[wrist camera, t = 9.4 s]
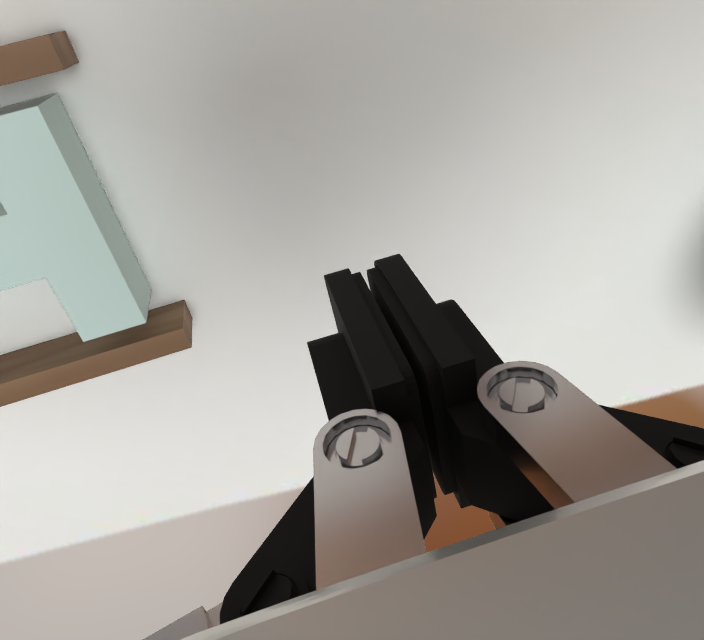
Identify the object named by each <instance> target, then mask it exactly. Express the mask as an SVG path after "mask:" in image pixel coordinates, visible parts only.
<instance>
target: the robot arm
mask: <svg viewBox="0 0 704 640" xmlns="http://www.w3.org/2000/svg"><path fill="white" fill-rule="evenodd" d="M374 266H375V268H372V269H368V270H367V276H368V281H369V286H370V290H371V291H370V290H369V288H368V286H367V284H366V282H365V280H364V278H363V277H362V275H361V273H360V272H358V273H354V274H351V272H350V270H349V268H348V269H344V270H341V271H337V272H334V273H330V274H327V275H324V278H325V283H326V287H327V291H328V294H329V298H330V302H331V306H332V310H333V314H334V317H335V321H336V325H337V329H338V333H337V334H333V335H330V336H327V337H323V338H320V339H317V340H313V341H310V342H307V344H308V348H309V351H310V355H311V358H312V362H313V366H314V369H315V373H316V376H317V380H318V384H319V387H320V391H321V394H322V398H323V401H324V405H325V409H326V412H327V416H328V419H329V422H328V423H326V424H325V425H324V426H323V427H322V428H321V429H320V431H319V433H318V435H317V436H316V438H315V442H314V448H313V463H314V476H313V478H312V479H311V480H310V482H309V483H308V484H307V486H306V487H305V488H304V490H303V491H302V492H301V494H300V495H299V496H298V498H297V499H296V500H295V502H294V503H293V504H292V505H291V507H290V508H289V509H288V511H287V512H286V513H285V515H284V516H283V517H282V519H281V520H280V521H279V523H278V524H277V525H276V527H275V528H274V529H273V531H272V532H271V533H270V534H269V536H268V537H267V538H266V540H265V541H264V542H263V544H262V545H261V546H260V548H259V549H258V550H257V551H256V553H255V554H254V555H253V557H252V558H251V559H250V561H249V562H248V563H247V565H246V566H245V568H244V569H243V570H242V571H241V573H240V574H239V575H238V576H237V578H236V579H235V580H234V582H233V583H232V585H231V587H230V588H229V590H228V592H227V593H226V595H225V597H224V600H223V602H222V603H220V604H219V605H217V606H215V607H214V608H212V609H210V610H208V611H207V612H206V610H205V609H204V607H203V606H201V607H199V608H197V609H196V610H194V611H192V612H190V613H189V614H187V615H185V616H183V617H182V618H180V619H178V620H177V621H175V622H173V623H171V624H169V625H168V626H166V627H164V628H163V629H161V630H159V631H157V632H155V633H154V634H152V635H150V636H148V637H147V638H145V639H143V640H704V429H703V428H699V427H695V426H690V425H686V424H681V423H677V422H672V421H668V420H663V419H659V418H655V417H650V416H646V415H641V414H637V413H633V412H628V411H624V410H619V409H615V408H610V407H606V406H602V405H598V404H596V403H595V402H594V401H593V400H592V399H590V398H589V397H588V396H587V395H585V394H584V393H583V392H582V391H580V390H579V389H578V388H577V387H575V386H574V385H573V384H572V383H570V382H569V381H568V380H567V379H566V378H564V377H563V376H562V375H561V374H559V373H558V372H556V371H555V370H553V369H551V368H550V367H548V366H545V365H542V364H539V363H536V362H528V361H515V362H507V363H504V362H503V361H502V360H501V359H500V357H499V356H498V355H497V354H496V352H495V351H494V350H493V349H492V347H491V346H490V345H489V343H488V342H487V341H486V340H485V338H484V337H483V336H482V335H481V333H480V332H479V331H478V329H477V328H476V327H475V326H474V324H473V323H472V322H471V321H470V319H469V318H468V317H467V316H466V314H465V313H464V312H463V310H462V309H461V308H460V307H459V305H458V304H457V303H456V302H455V301H454V300H448V301H444V302H441V303H438V304H436V303H435V302H434V301H433V299H432V298H431V296H430V295H429V294H428V292H427V291H426V290H425V288H424V287H423V285H422V284H421V283H420V281H419V280H418V278H417V277H416V276H415V274H414V273H413V271H412V270H411V269H410V267H409V266H408V265H407V263H406V262H405V260H404V259H403V258H402V256H401V255H400V254H397V255H393V256H390V257H386V258H383V259H379V260H376V261H375V262H374ZM432 470H433V471H432ZM433 473H434V475H435V476H436V479H437V481H438V483H439V485H440V488H441V490H442V492H443V493H444V494H445V495H446V494H449V493H452V492H453V493H454V494H455V497H456V499H457V501H458V503H459V505H460V507H461V508H464V507H467V506H470V505H473V506H476V507H479V508H482V509H484V510H487V511H489V518H490V520H491V522H492V524H493V526H494V527H495V528H496V529H495V530H492V531H490V532H486V533H484V534H481V535H478V536H475V537H472V538H469V539H466V540H463V541H460V542H457V543H454V544H451V545H448V546H445V547H442V548H439V549H436V550H433V551H430V552H427V553H426V549H425V544H424V539H425V537H426V535H427V533H428V531H429V529H430V527H431V525H432V523H433V522H434V520H435V518H436V516H437V515H436V509H435V504H434V498H436V497H437V495H436V489H435V483H434V477H433Z"/></svg>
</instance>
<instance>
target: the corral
mask: <svg viewBox="0 0 704 640" xmlns="http://www.w3.org/2000/svg"><path fill="white" fill-rule="evenodd" d="M78 62H79V61H78V59H77V57H76V55H75V52H74V50H73V48H72V45H71V43H70V41H69V39H68V36H67V34H66V32H65V31H61V32H57V33H52V34H48V35H44V36H40V37H36V38H32V39H28V40H24V41H20V42H16V43H12V44H8V45H4V46H0V86H2V85H6V84H10V83H14V82H18V81H21V80H25V79H29V78H33V77H37V76H41V75H45V74H49V73H53V72H57V71H60V70H64V69H66V68H68V67H70V66H72V65H74V64H76V63H78ZM191 347H192V317H191V314H190V312H189V310H188V308H187V305H186V303H185V301H184V300H183V301H180V302H177V303H173V304H170V305H167V306H163V307H160V308H157V309H153V310H150V311H148V315H147V321H146V323H144V324H141V325H137V326H134V327H131V328H128V329H124V330H121V331H118V332H114V333H111V334H108V335H105V336H101V337H98V338H95V339H92V340H88V341H85V342H83V341H82V339H81V337H80V335H79V334H78V332H77V333H74V334H71V335H67V336H64V337H61V338H57V339H54V340H51V341H47V342H44V343H41V344H37V345H34V346H31V347H27V348H24V349H21V350H18V351H14V352H11V353H8V354H4V355H1V356H0V407H1V406H4V405H8V404H11V403H14V402H17V401H21V400H24V399H27V398H30V397H33V396H37V395H40V394H43V393H46V392H50V391H53V390H56V389H59V388H62V387H66V386H69V385H72V384H75V383H79V382H82V381H85V380H88V379H91V378H95V377H98V376H101V375H104V374H108V373H111V372H114V371H117V370H120V369H124V368H127V367H130V366H133V365H137V364H140V363H143V362H146V361H149V360H153V359H156V358H159V357H162V356H166V355H169V354H172V353H175V352H178V351H182V350H185V349H188V348H191Z"/></svg>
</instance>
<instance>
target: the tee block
mask: <svg viewBox="0 0 704 640" xmlns="http://www.w3.org/2000/svg"><path fill="white" fill-rule="evenodd" d="M43 278H46V280H47V281H48V283H49V285H50V286H51V288H52V290H53V292H54V293H55V295H56V297H57V298H58V300H59V302H60V303H61V305H62V307H63V308H64V310H65V312H66V313H67V315H68V317H69V319H70V320H71V322H72V324H73V325H74V327H75V329H76V330H77V332H78V334H79V335H80V337H81V339H82V341H83V342H85V341H88V340H92V339H95V338H98V337H101V336H105V335H108V334H111V333H114V332H118V331H121V330H124V329H128V328H131V327H134V326H137V325H141V324H144V323H146V321H147V315H148V309H149V303H150V297H151V291H152V290H151V288H150V286H149V284H148V281H147V279H146V277H145V275H144V273H143V271H142V269H141V267H140V265H139V263H138V260H137V258H136V256H135V254H134V252H133V250H132V248H131V246H130V244H129V242H128V239H127V237H126V235H125V233H124V231H123V229H122V227H121V225H120V223H119V221H118V219H117V216H116V214H115V212H114V210H113V208H112V206H111V204H110V202H109V200H108V198H107V195H106V193H105V191H104V189H103V187H102V185H101V183H100V181H99V179H98V177H97V174H96V172H95V170H94V168H93V166H92V164H91V162H90V160H89V158H88V156H87V154H86V151H85V149H84V147H83V145H82V143H81V141H80V139H79V137H78V135H77V133H76V130H75V128H74V126H73V124H72V122H71V120H70V118H69V116H68V114H67V112H66V109H65V107H64V105H63V103H62V101H61V99H60V97H59V95H58V93H55V94H51V95H47V96H43V97H40V98H36V99H32V100H28V101H24V102H21V103H17V104H13V105H9V106H5V107H2V108H0V291H2V290H6V289H9V288H13V287H16V286H19V285H23V284H26V283H30V282H33V281H37V280H40V279H43Z"/></svg>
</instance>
